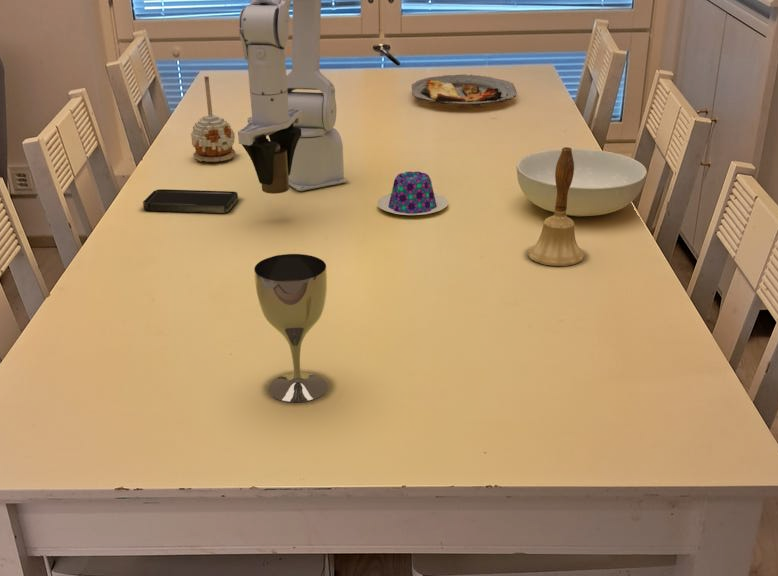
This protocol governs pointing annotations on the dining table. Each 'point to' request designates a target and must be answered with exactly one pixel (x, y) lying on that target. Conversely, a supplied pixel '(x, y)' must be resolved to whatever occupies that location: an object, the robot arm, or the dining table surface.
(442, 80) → the food plate
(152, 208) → the phone
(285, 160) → the salt shaker
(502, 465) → the dining table surface
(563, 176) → the hand bell
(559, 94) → the dining table surface
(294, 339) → the wine glass
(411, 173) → the pudding
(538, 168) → the serving bowl
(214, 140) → the caramel apple
